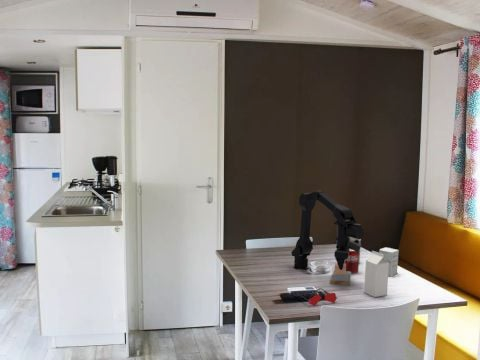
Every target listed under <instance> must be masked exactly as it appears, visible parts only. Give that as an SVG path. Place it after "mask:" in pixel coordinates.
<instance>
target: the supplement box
mask: <svg viewBox="0 0 480 360" xmlns="http://www.w3.org/2000/svg"><path fill="white" fill-rule="evenodd" d="M399 252H400V251H399V249H395V248H391V247H386V246H385V247H383V248H380V249H379V251H378V253H380V254H383V256H384V258H385V259H386V260H387V261H388V262H389V269H388V277H393V276H395V275H397V274H398V266H399V265H398V264H399Z"/></svg>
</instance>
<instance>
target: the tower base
mask: <svg viewBox="0 0 480 360" xmlns="http://www.w3.org/2000/svg"><path fill="white" fill-rule="evenodd" d="M351 279H352V278H351V277H350V280H349V282H348V281H338V280H332V275H331V277H330V283H329V284H330V285H337V286H349V287H350V286H351Z"/></svg>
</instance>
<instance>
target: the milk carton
mask: <svg viewBox="0 0 480 360" xmlns="http://www.w3.org/2000/svg"><path fill="white" fill-rule="evenodd" d="M388 269H389V262H388V261H387V260H386V259H385V258H384V256H383V254H380V253H379V251H374V250H371V253H370V254H369V256H367V258H366V259H365V269H364V270H365V271H364V289H363V291H364V294H367V295H369V296H371V297H374V298H378V297H379V298H380V297H383V296H387V295H388V284H389V283H388V282H389V276H388Z"/></svg>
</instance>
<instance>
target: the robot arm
mask: <svg viewBox="0 0 480 360" xmlns="http://www.w3.org/2000/svg"><path fill="white" fill-rule="evenodd" d="M317 201H319V202H320V203H321V204H322V206H324V207H326V208H327V209H328V210H329V211H330V212H331V213H332V216H333V217H334V218H335V220H336V221H334V222H333V224H334V225H336V226H337V227H336V239H335V240H336V246H335V247H336V248H335V250H334V253H333V254H334V255H333V256H334V258H335V261H336V263H338V266H339V269H340V270H342V269H343V265H344V261H345V259H347V258H348V252H349V249H352V250H354V251H356V252H359V250H360V251H361V247H362V243H361V244H359V240H357V239H361V240H362V239H363V238H364V236H365V235H364V234H365V230H364V228H363V227H362V224H360V223H357V221H356V218H355V217H354V214H353V211H352V210H351V209H350V208H348V207H347V206H346V205H345V206H344V205H341V204H339V203H338V202H337V201H335V200H334V199H332V197H330V196H329V195H327V194H326V193H325V191H323V190H315V191H313V192H307V193H306V192H305V193H301V194H300V195H299V197H298V203H299V204H298V205H299V207H300V209H301V217H300V218H301V219H300V229H299V230H300V232H299V237H298V239H297V240H296V243H295V248H293V250H292V251H291V256H292V257H294V258H293V259H294V260H293V261H294V262H293V264H294V265H293V268H294V269H297V270H298V269H299V270H300V269H301V270H307V268H308V267H309V258H308V256H311V253H312V251H313V250H314V241H312V240H311V238H310V236H311V235H310V234H311V224H312V223H311V221H312V211H313V209H314V208H315V207H316V202H317ZM350 237H352V238H355V239H356V240H354V241H353V240H350Z"/></svg>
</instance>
